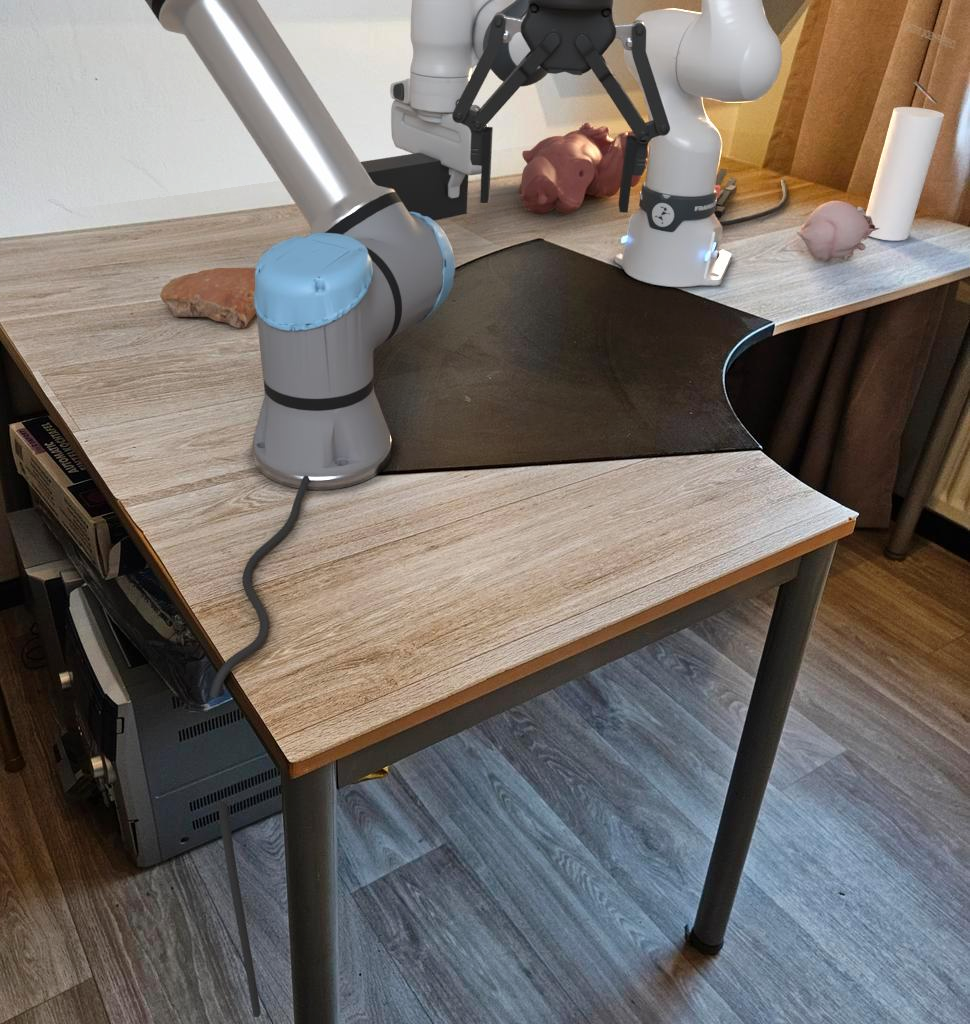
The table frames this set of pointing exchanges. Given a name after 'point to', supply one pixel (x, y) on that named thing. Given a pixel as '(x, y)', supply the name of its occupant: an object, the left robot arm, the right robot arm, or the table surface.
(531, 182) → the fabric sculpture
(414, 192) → the bar
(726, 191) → the toy
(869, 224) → the toy
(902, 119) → the tall white tube
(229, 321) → the ceramic shard
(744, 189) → the table surface
